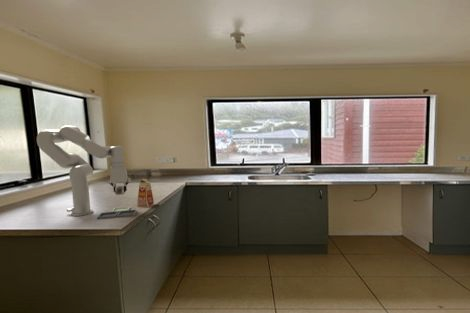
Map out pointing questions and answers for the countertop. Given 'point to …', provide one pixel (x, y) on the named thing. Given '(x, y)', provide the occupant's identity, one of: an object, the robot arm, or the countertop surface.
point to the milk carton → (145, 194)
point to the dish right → (127, 213)
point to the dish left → (108, 215)
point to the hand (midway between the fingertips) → (120, 192)
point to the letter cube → (119, 190)
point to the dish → (121, 209)
